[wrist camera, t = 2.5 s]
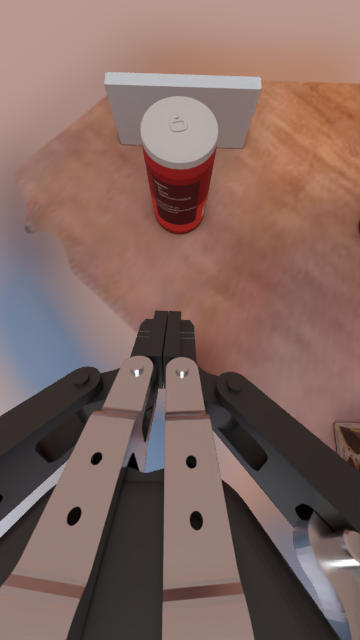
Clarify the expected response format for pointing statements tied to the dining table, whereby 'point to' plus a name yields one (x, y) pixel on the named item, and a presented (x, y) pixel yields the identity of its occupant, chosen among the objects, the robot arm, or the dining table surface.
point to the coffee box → (348, 443)
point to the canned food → (179, 159)
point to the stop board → (213, 91)
